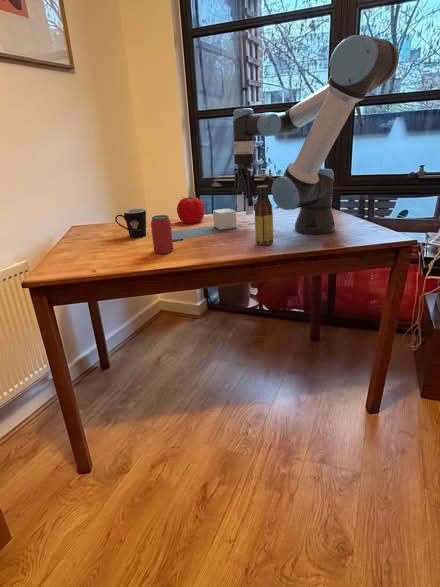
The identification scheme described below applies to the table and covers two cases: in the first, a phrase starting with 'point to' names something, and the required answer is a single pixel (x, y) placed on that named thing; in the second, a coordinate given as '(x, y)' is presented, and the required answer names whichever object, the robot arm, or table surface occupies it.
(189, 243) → the table surface
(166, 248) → the beer can
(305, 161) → the robot arm
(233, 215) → the cream block
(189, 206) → the tomato
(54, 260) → the table surface
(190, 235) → the rubber mat
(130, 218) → the coffee mug
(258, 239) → the sauce bottle
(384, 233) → the table surface
